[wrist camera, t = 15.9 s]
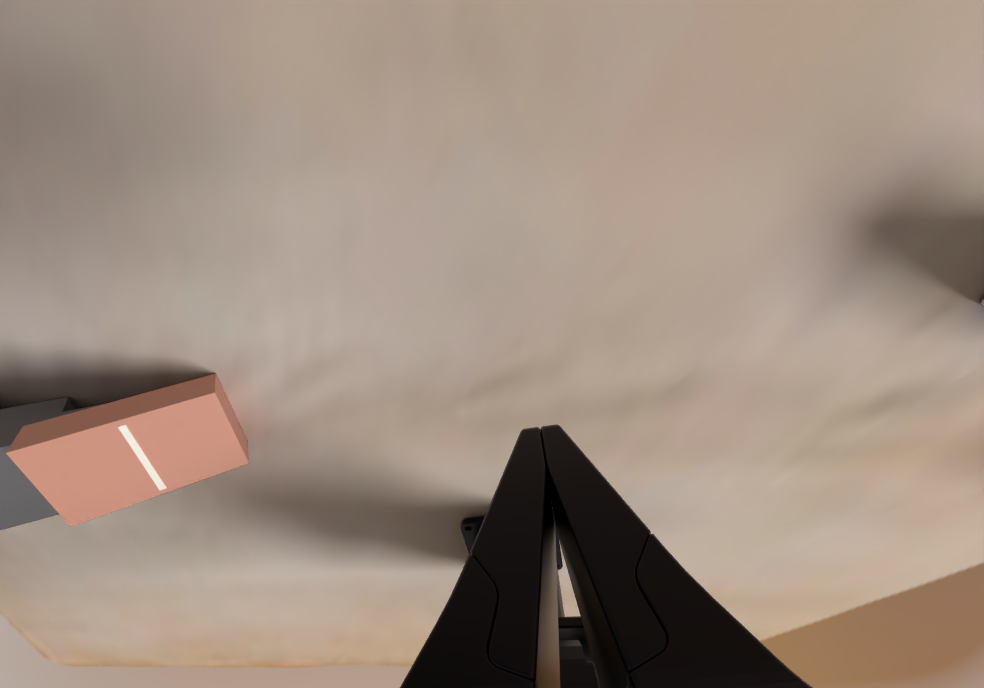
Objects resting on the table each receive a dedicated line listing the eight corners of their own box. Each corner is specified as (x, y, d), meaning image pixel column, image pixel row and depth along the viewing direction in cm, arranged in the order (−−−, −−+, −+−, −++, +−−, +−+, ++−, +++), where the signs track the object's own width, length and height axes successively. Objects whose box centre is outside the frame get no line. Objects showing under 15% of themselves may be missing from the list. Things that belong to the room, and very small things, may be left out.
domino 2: (172, 483, 25) (-22, 537, 21) (174, 459, 26) (-6, 505, 23) (142, 417, 22) (-84, 466, 19) (147, 394, 24) (-61, 435, 20)
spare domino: (249, 463, 24) (70, 527, 21) (247, 441, 26) (81, 497, 22) (214, 392, 21) (5, 453, 18) (215, 372, 23) (23, 425, 20)
